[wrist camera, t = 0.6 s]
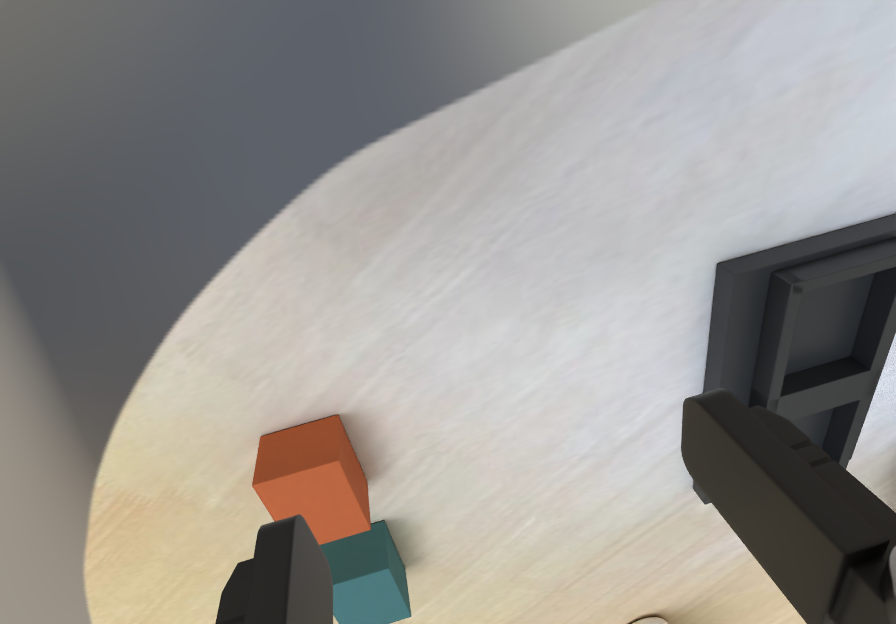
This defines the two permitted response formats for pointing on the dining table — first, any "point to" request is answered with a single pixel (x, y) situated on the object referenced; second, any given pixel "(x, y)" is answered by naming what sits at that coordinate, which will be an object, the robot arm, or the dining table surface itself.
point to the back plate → (808, 331)
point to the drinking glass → (651, 621)
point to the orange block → (314, 479)
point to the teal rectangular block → (367, 578)
